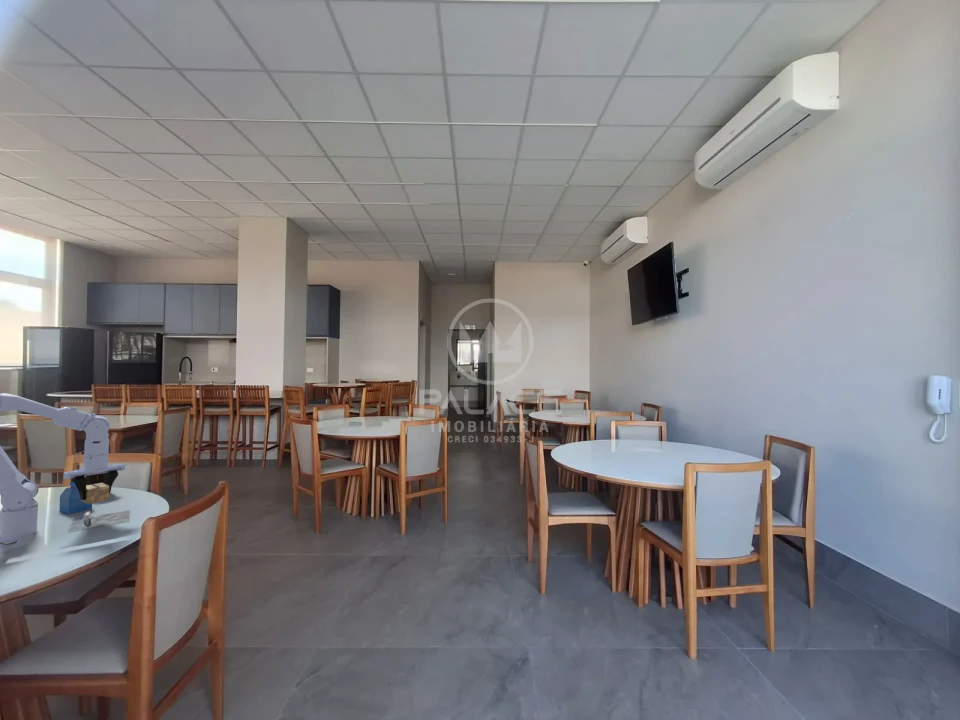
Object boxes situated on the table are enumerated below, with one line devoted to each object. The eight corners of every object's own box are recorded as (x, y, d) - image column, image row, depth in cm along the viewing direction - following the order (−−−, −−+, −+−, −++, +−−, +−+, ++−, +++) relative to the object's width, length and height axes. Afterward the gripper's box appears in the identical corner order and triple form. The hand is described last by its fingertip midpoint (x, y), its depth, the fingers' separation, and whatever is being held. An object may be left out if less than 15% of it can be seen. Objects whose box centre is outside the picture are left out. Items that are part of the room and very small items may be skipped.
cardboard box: (88, 504, 129) (88, 488, 129) (80, 500, 132) (81, 485, 132) (108, 499, 133) (109, 485, 133) (101, 496, 136) (101, 482, 136)
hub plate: (67, 535, 124) (67, 522, 124) (73, 522, 134) (73, 510, 134) (128, 524, 133) (129, 512, 133) (129, 513, 143) (130, 501, 143)
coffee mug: (94, 491, 166) (95, 466, 166) (119, 491, 167) (120, 466, 167) (71, 501, 154) (72, 474, 154) (98, 500, 156) (99, 473, 156)
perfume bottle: (91, 511, 144) (92, 476, 145) (68, 517, 139) (69, 481, 139) (82, 508, 147) (83, 474, 147) (59, 513, 141) (60, 478, 142)
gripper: (69, 460, 124) (68, 505, 124) (129, 452, 137) (128, 493, 137) (62, 457, 128) (60, 501, 128) (121, 449, 141) (119, 490, 140)
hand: (94, 497), depth 132 cm, fingers closed on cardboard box, 5 cm apart
